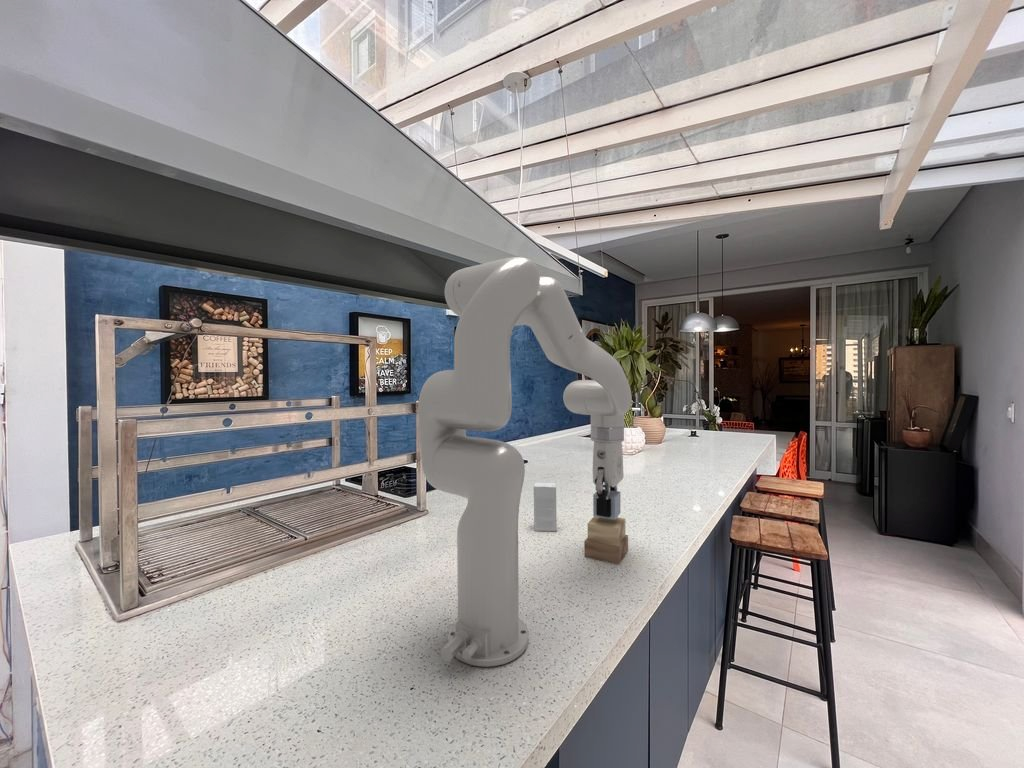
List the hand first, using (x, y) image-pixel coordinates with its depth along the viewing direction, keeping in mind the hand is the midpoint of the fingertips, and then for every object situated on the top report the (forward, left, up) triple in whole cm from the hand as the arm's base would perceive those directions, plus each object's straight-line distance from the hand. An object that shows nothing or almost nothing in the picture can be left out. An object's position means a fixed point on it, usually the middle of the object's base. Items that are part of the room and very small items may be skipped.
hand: (607, 511), depth 98 cm
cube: (0, 0, -1) cm, 1 cm away
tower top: (0, 0, -6) cm, 6 cm away
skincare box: (+8, +19, -10) cm, 23 cm away
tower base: (0, 0, -10) cm, 10 cm away
